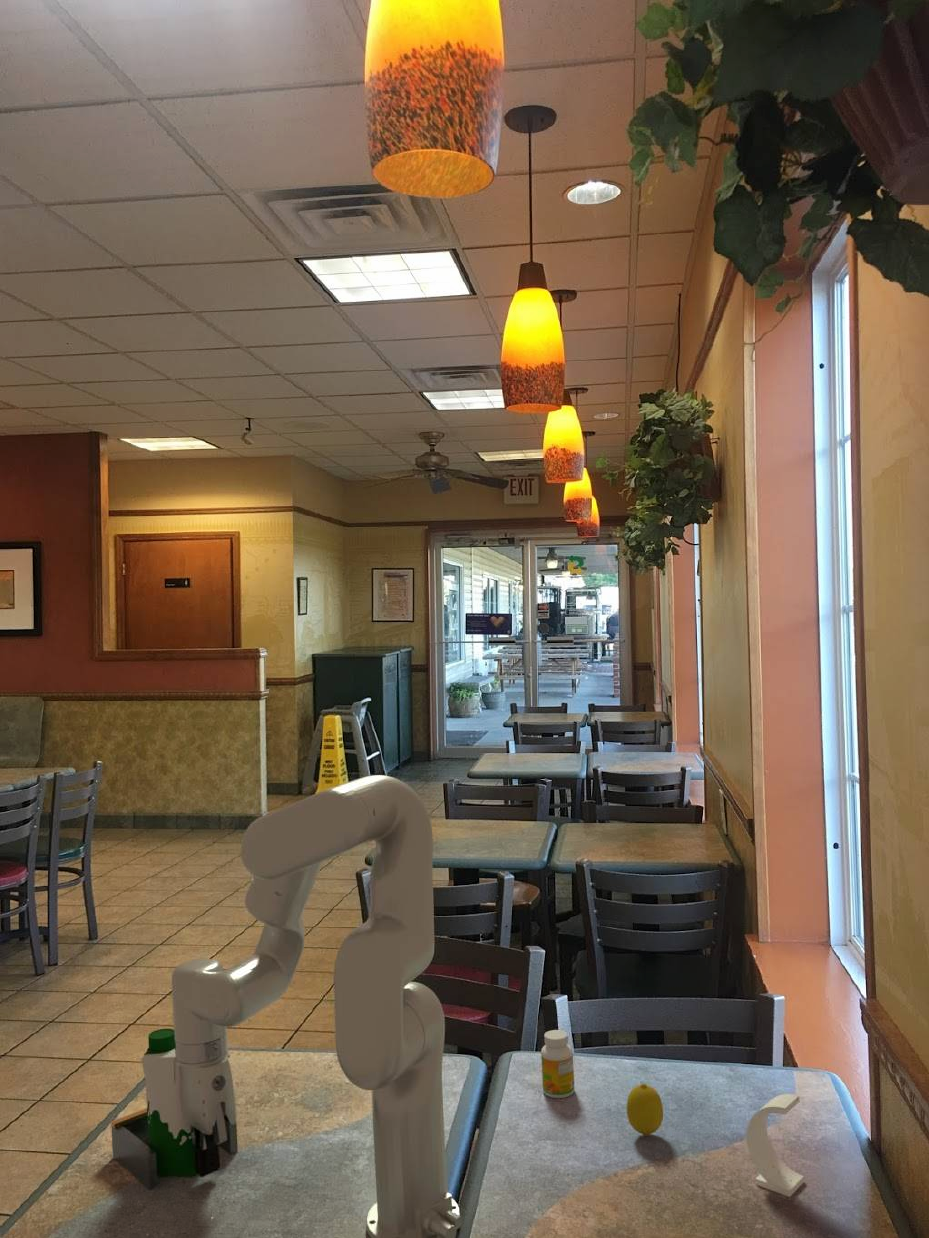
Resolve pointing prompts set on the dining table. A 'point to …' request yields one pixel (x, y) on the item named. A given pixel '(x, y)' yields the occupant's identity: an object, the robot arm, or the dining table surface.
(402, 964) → the robot arm
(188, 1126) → the soya milk
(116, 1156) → the bracket
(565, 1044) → the supplement bottle
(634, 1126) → the lemon
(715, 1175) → the dining table surface
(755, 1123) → the headphone stand
